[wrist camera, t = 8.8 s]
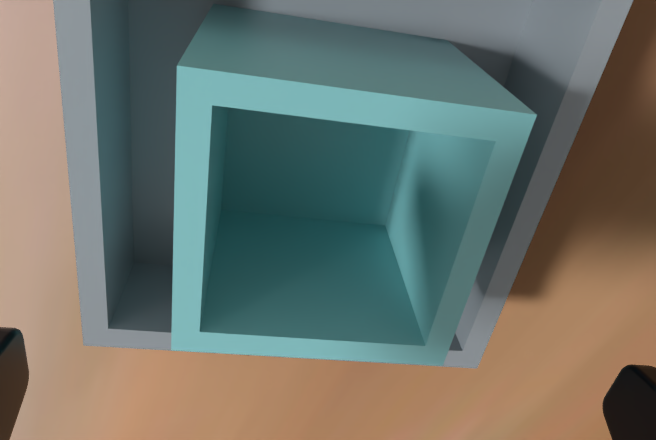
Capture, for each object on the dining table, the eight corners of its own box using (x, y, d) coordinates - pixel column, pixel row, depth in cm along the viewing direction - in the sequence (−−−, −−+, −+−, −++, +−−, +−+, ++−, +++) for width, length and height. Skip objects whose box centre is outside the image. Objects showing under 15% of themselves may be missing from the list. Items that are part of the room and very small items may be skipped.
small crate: (447, 39, 15) (536, 114, 10) (395, 233, 18) (443, 365, 13) (213, 3, 14) (176, 65, 9) (202, 214, 17) (171, 350, 12)
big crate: (562, -55, 15) (650, -41, 11) (443, 290, 21) (476, 368, 17) (102, -144, 13) (39, -160, 9) (118, 263, 19) (83, 345, 15)
